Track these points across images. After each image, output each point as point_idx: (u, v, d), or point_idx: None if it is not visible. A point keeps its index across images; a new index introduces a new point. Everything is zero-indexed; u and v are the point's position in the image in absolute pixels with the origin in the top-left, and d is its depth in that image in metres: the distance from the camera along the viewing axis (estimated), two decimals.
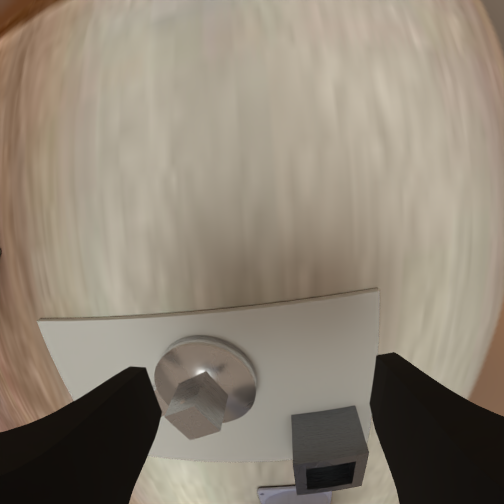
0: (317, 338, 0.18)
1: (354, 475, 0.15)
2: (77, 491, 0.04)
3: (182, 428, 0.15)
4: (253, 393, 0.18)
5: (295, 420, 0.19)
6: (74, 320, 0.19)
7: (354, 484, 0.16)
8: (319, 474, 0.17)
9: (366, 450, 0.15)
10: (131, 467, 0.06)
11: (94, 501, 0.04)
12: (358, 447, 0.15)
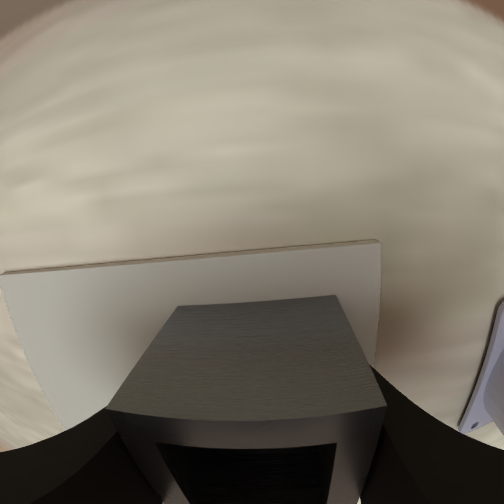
0: (57, 360, 0.11)
1: (266, 445, 0.04)
2: (112, 503, 0.04)
3: None
4: None
5: None
6: None
7: (355, 432, 0.04)
8: (323, 454, 0.06)
9: None
10: None
11: None
12: None
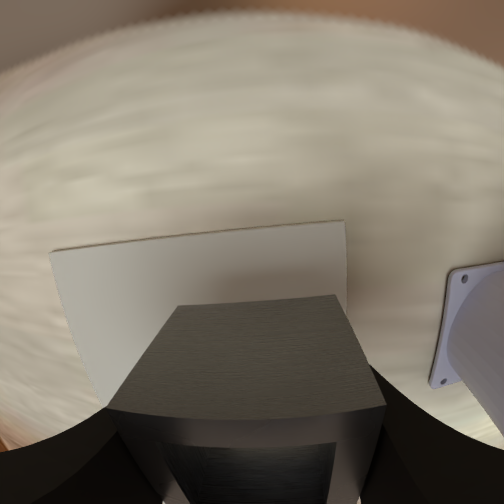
0: (99, 320, 0.15)
1: (266, 444, 0.04)
2: None
3: None
4: None
5: None
6: None
7: (355, 432, 0.04)
8: (323, 453, 0.06)
9: None
10: None
11: None
12: None
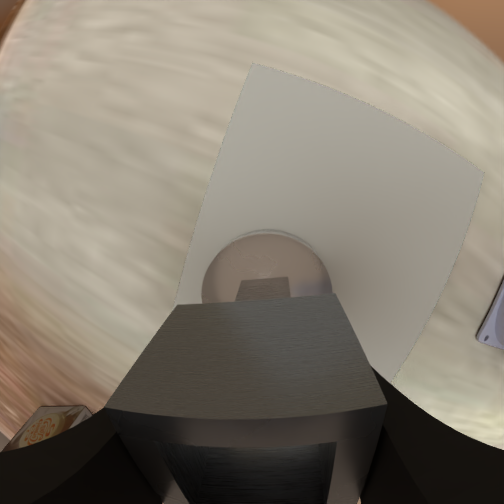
0: (274, 143, 0.15)
1: (266, 444, 0.04)
2: None
3: None
4: (299, 245, 0.15)
5: None
6: None
7: (355, 431, 0.04)
8: (323, 453, 0.06)
9: (110, 404, 0.05)
10: None
11: None
12: None
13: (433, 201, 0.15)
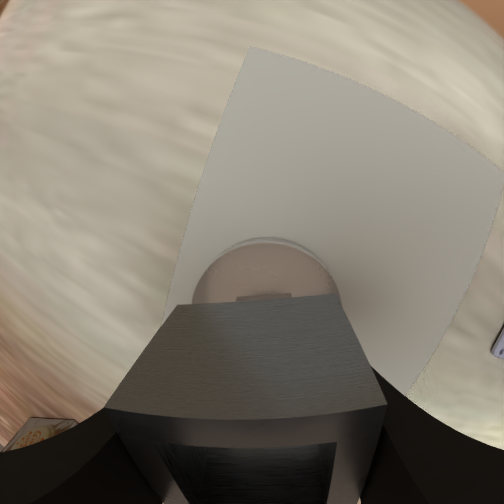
0: (275, 137, 0.13)
1: (266, 444, 0.04)
2: None
3: None
4: (304, 256, 0.12)
5: None
6: None
7: (355, 431, 0.04)
8: (323, 454, 0.06)
9: (110, 404, 0.05)
10: None
11: None
12: None
13: (454, 205, 0.13)
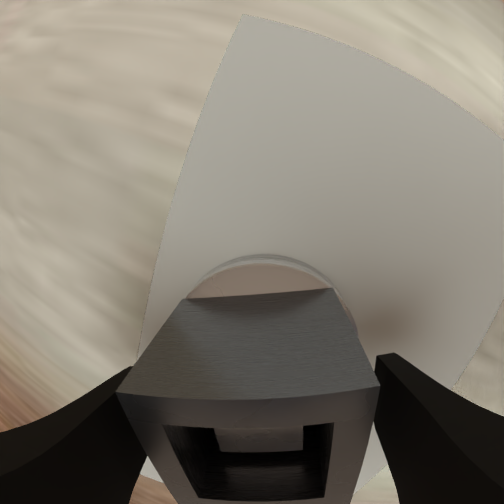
0: (275, 124, 0.10)
1: (268, 424, 0.05)
2: (77, 491, 0.04)
3: (263, 445, 0.07)
4: (313, 282, 0.09)
5: None
6: None
7: (351, 412, 0.05)
8: (322, 440, 0.07)
9: (121, 390, 0.05)
10: (131, 467, 0.06)
11: (94, 501, 0.04)
12: None
13: (490, 214, 0.10)
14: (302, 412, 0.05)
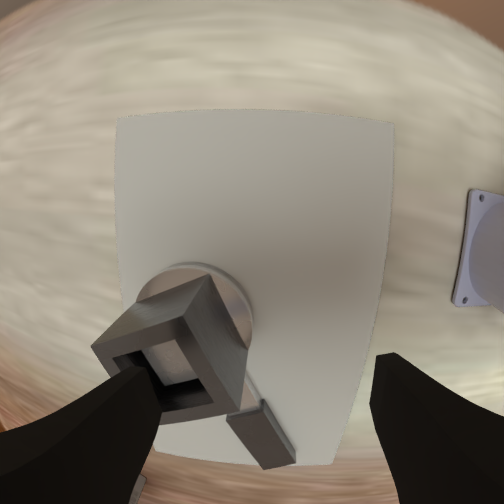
0: (154, 185, 0.16)
1: (148, 345, 0.11)
2: (76, 491, 0.04)
3: (182, 375, 0.13)
4: (197, 273, 0.15)
5: None
6: None
7: (178, 332, 0.10)
8: None
9: None
10: (131, 467, 0.06)
11: (94, 501, 0.04)
12: None
13: (336, 179, 0.15)
14: (157, 335, 0.11)
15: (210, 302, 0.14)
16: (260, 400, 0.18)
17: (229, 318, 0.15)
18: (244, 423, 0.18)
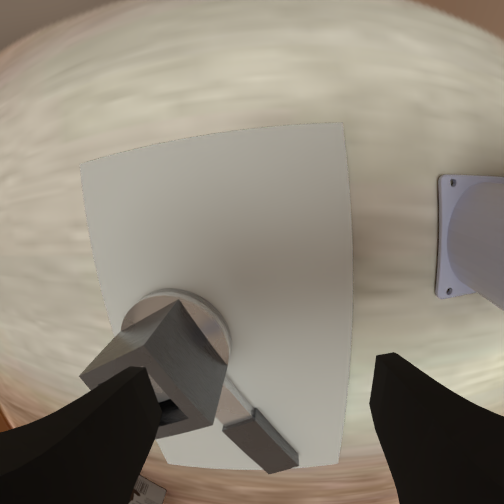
0: (121, 222, 0.17)
1: None
2: (77, 491, 0.04)
3: (163, 394, 0.14)
4: (168, 300, 0.16)
5: None
6: None
7: (144, 360, 0.11)
8: None
9: None
10: (131, 467, 0.06)
11: (94, 501, 0.04)
12: None
13: (288, 191, 0.15)
14: (127, 363, 0.11)
15: (178, 327, 0.14)
16: (252, 409, 0.19)
17: (203, 338, 0.16)
18: (239, 432, 0.18)
